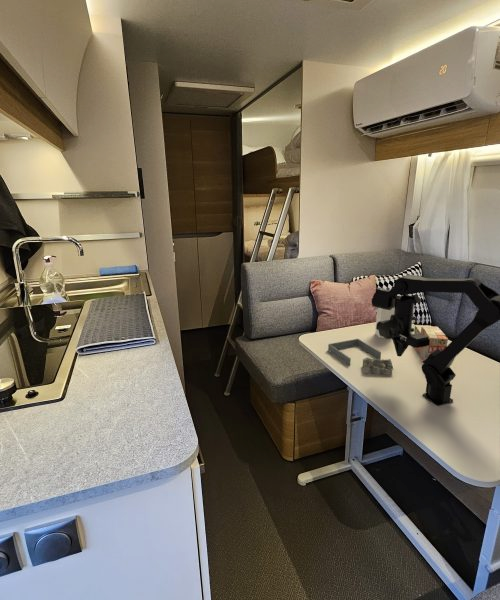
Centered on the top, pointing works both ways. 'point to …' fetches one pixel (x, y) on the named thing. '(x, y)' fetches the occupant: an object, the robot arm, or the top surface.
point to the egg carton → (370, 363)
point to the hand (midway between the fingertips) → (399, 356)
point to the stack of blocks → (431, 340)
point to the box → (355, 342)
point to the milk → (383, 317)
